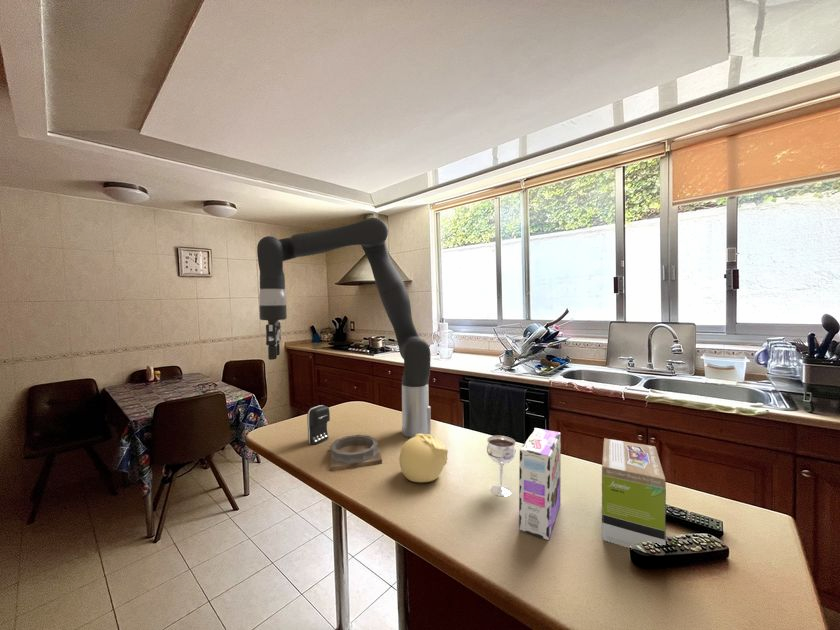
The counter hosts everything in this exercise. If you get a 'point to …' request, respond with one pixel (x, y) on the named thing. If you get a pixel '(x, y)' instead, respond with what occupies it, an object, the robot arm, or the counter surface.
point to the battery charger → (317, 424)
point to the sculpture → (423, 458)
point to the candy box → (539, 482)
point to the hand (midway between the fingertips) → (274, 357)
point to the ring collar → (354, 452)
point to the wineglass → (501, 459)
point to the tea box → (632, 494)
